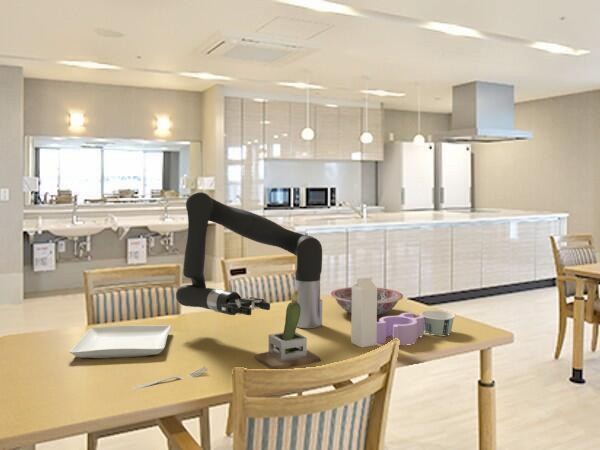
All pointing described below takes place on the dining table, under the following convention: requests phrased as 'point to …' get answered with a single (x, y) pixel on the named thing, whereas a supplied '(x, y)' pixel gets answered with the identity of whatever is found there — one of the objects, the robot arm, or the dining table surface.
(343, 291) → the ceramic bowl
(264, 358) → the brown rectangular board
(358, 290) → the milk
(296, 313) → the vegetable
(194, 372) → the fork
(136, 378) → the dining table surface
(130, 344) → the square plate
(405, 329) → the clip
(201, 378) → the dining table surface
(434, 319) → the food container
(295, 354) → the gray slotted crate
